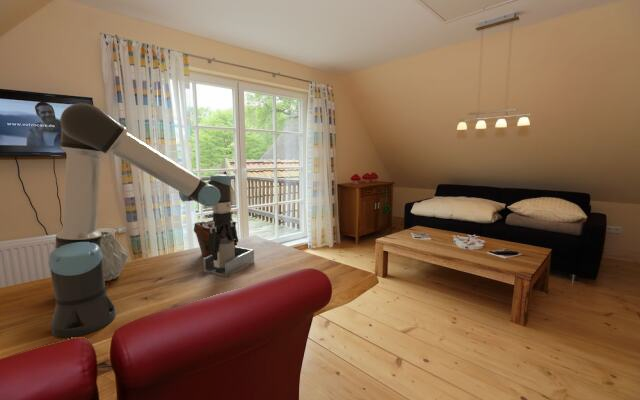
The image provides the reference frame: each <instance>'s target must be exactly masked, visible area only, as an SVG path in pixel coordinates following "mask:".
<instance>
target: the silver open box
mask: <svg viewBox="0 0 640 400" xmlns="http://www.w3.org/2000/svg"><path fill="white" fill-rule="evenodd" d="M202 260H203V273H207V274H213V275H216V276H221V277H225V278H229V277H230V276H232V275H234V274H235V273H237V272H239V271H241V270H243V269H244V268H246V267H248V266H250V265H252V264H253V263H255V249H252V248H247V247H241V246H237V245H235V258H233V259H231V260H229V261H227V262H225V268H218V267H214V260H213V256H212V255H210V256H208V257H203V258H202Z"/></svg>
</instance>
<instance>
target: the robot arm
mask: <svg viewBox="0 0 640 400" xmlns="http://www.w3.org/2000/svg"><path fill="white" fill-rule="evenodd" d="M59 122H60V126H61V130H60V131H61V132H60V133H61V134H60V149H62V151H64V153H66V154H65V155H66V161H65V163H66V165H65V182H64V198H63V200H64V201H63V216H62V217H63V218H62V219H63V221H62V230H60V231H59V232H57V233H56V235H55V246H54V247H55V248H54V249H53V250H52V251H51V252H50V253H49V256H48V267H49V269H50V274H51V275H50V276H51V281H52V282H51V283H52V287H53V292H54V300H55V308H54V311H53V315H52V319H51V324H50V329H51V334H52V336H54V337H56V338H74V337H75V338H76V337H80V336H84V335H87V334H91V333H94V332H95V331H98V330H100V329H102V328H104V327H105V326H108V325H109V324H110V323H111V322H113V320H114V319H115V318H116V315H117V313H116V307H115V305H114V303H113V302H112V300H111V298H110V297H109V295H108V293H107V288H106V283H105V282H106V281H105V280H104V272H103V264H102V252H101V239H102V234H101V233H100V232H101V231H99V230H98V229H97V227H98V211H99V196H100V195H99V194H100V182H101V181H100V180H101V165H102V164H101V163H102V157H103V156H105V155H110V154H112V155H114V156H116V157H118V158H119V159H121V160H123V161H125V162H127V164H131V165H132V166H134V167H135V168H137V169H139V170H141V171H142V172H144V173H146V174H148V175H149V176H151V177H153V178H155V179H156V180H158V181H160V182H162V183H164V184H165V185H167V186H169V187H170V188H172V189H175V190H177V191H178V194H179V198H180V200H181V201H182V202H193V201H194V202H196V203H199V204H200V205H202V206H203V207H211V209H212V220H213V221H214V222H215V225H214V227H213V228H209V244H208V252H212V256H213V260H214V267H218V268H219V267H220V253H219V252H218V249H219V245H220V241H221V237H222V236H223V234H224V233H225V234H226V237H227V239H228V240H230V241H232V240H234V253H235V246H237V245H238V243H239V237H238V233H237V227H236V226H237V222H236V221H234V220H233V218H232V216H233V214H232V199H231V196H232V195H231V180H230V176H229V175H228V174H225V173H223V174H211V175H210V176H209V177H210V179H207V180H203V179H201V178H200V177H198V176H197V175H195V174H194V173H193V172H191V171H189V170H188V169H186V168H184V167H183V166H181V165H180V164H178V163H177V162H175V161H174V160H171V159H170V158H169V157H167V156H165V155H164V154H162V153H161V152H159V151H157V150H156V149H154V148H152V147H151V146H149V145H148V144H146V143H145V142H143V141H141V140H140V139H138V138H137V137H135V136H133V135H132V134H131V133H129V132H128V130H127V127H125V126H124V125H123V124H121V123H119V121H116V120H115V119H113V117H111V116H110V115H108V113H106V112H104V111H103V110H102V109H101V108H99V107H97V106H95V105H93V104H89V103H82V102H81V103H75V104H71V105H69V106H67V107H66V108H65V109H64V110H63V111H62V113H61V115H60V120H59ZM231 220H233V221H231ZM218 233H219V234H218Z"/></svg>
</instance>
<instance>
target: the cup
mask: <svg viewBox="0 0 640 400" xmlns="http://www.w3.org/2000/svg"><path fill="white" fill-rule="evenodd" d="M218 252H219V253H220V267H219V268H225V262H227V261H229V260H231V259H233V258H235V253H234V240H232V241H230V240H228V239H221V241H220V245H219V249H218Z"/></svg>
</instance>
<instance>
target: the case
mask: <svg viewBox="0 0 640 400" xmlns="http://www.w3.org/2000/svg"><path fill="white" fill-rule="evenodd" d="M231 221H233V222H234V219H232V220H231ZM214 225H215V222H214V221H213V219H212V220H208V221H200V222H194V228H193V232H194V233H195V235H196V238H197V242H198V245H199V249H200V252H201V256H202V257H203V258H205V257H208V256H210V255H212V252H208V244H209V228H213V227H214ZM218 234H219V233H218ZM221 239H227V237H226V234H225V233H224V234H223V236H222V237H221Z"/></svg>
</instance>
